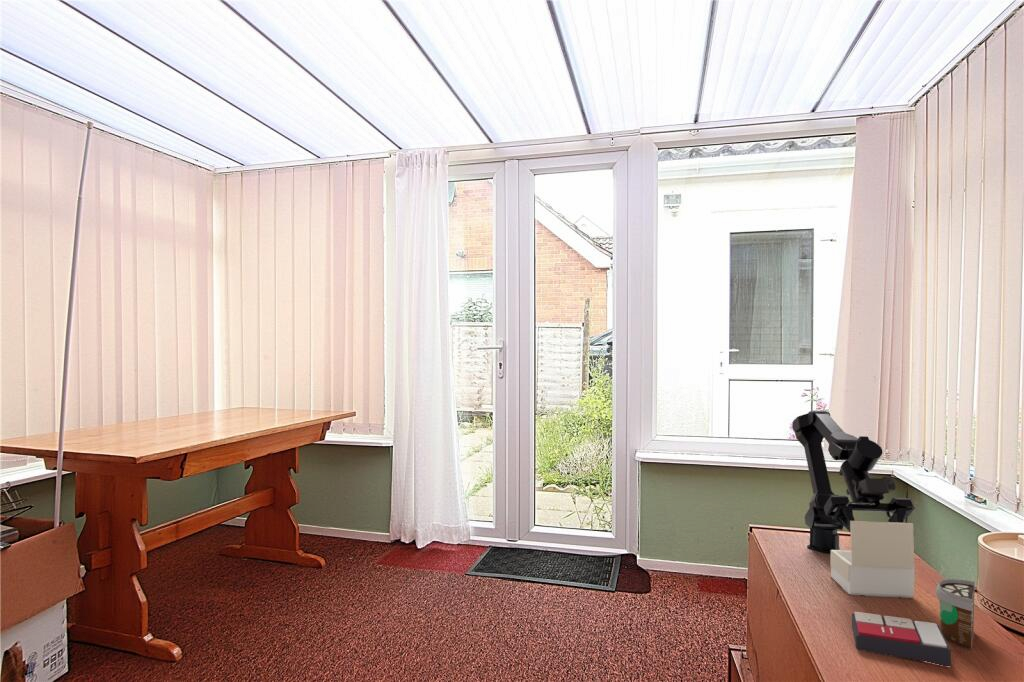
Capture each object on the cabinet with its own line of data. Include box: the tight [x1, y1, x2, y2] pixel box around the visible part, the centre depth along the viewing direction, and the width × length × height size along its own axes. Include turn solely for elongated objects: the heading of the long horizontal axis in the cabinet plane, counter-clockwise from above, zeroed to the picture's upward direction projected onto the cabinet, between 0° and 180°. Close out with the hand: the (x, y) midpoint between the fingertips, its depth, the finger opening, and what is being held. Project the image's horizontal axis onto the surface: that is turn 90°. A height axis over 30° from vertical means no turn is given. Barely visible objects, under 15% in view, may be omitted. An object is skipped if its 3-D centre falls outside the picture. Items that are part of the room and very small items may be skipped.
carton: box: [829, 549, 916, 599], centre depth 145 cm, size 10×15×7 cm
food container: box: [934, 578, 976, 651], centre depth 122 cm, size 12×6×10 cm, turn 141°
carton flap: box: [850, 520, 915, 568], centre depth 140 cm, size 10×14×1 cm
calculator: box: [851, 611, 952, 667], centre depth 118 cm, size 11×4×15 cm
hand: (880, 540), depth 141 cm, fingers open, 9 cm apart
